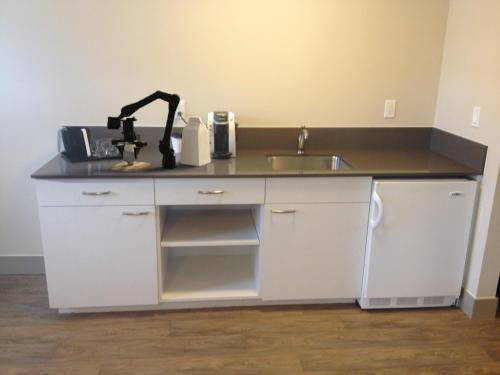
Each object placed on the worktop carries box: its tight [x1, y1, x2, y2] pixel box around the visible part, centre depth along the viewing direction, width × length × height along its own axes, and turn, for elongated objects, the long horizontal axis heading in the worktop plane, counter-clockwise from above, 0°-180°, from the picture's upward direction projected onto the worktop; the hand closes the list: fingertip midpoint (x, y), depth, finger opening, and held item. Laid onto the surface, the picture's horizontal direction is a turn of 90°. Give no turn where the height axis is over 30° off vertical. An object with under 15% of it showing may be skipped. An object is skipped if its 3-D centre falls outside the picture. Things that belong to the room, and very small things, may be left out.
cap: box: [122, 150, 138, 162], centre depth 242 cm, size 7×7×5 cm
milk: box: [181, 115, 211, 167], centre depth 253 cm, size 12×12×26 cm
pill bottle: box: [125, 142, 136, 150], centre depth 266 cm, size 8×8×15 cm
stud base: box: [109, 160, 152, 173], centre depth 243 cm, size 16×15×4 cm
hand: (130, 158), depth 243 cm, fingers closed on cap, 7 cm apart
